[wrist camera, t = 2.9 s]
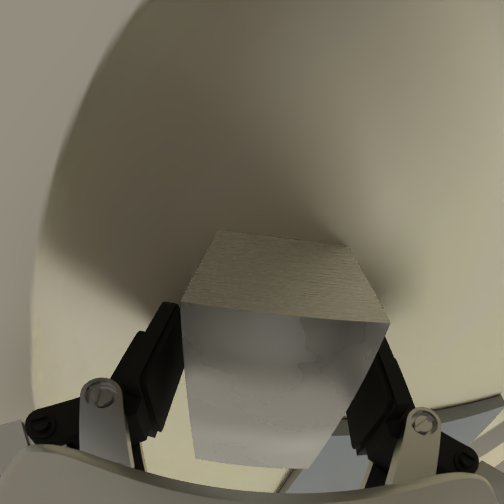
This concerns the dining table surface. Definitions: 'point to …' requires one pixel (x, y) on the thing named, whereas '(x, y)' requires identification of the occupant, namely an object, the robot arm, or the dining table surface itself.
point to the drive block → (275, 347)
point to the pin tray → (354, 467)
